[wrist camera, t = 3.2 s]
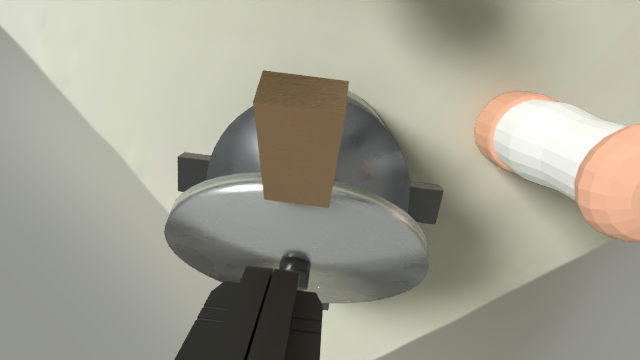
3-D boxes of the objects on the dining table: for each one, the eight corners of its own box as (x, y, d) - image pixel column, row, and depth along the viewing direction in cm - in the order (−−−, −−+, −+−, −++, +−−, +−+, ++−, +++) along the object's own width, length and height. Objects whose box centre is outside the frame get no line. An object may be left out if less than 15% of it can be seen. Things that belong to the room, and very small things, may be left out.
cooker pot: (434, 97, 35) (469, 112, 26) (398, 261, 41) (416, 321, 32) (214, 69, 35) (169, 74, 26) (210, 236, 41) (172, 289, 32)
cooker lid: (544, 106, 12) (565, 168, 11) (390, 301, 31) (391, 333, 30) (69, 45, 13) (25, 98, 11) (202, 276, 32) (192, 307, 30)
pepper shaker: (484, 174, 37) (622, 284, 19) (465, 108, 35) (599, 162, 17) (557, 148, 36) (776, 239, 18) (541, 78, 34) (770, 103, 16)
